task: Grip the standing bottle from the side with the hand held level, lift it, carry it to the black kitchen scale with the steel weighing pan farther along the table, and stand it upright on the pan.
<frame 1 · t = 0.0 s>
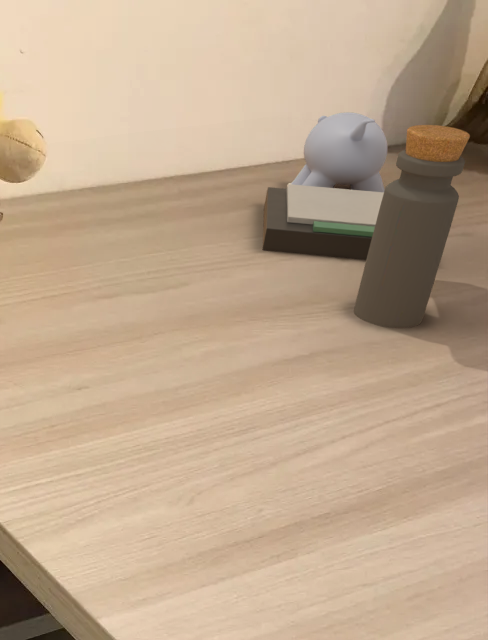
bottle: (386, 320, 91), on the table
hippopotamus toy: (333, 196, 120), on the table
scale: (340, 237, 108), on the table
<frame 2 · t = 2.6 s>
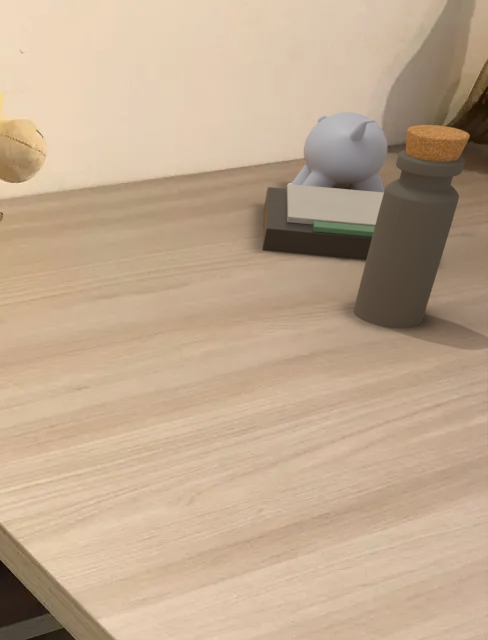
nothing on the table moved.
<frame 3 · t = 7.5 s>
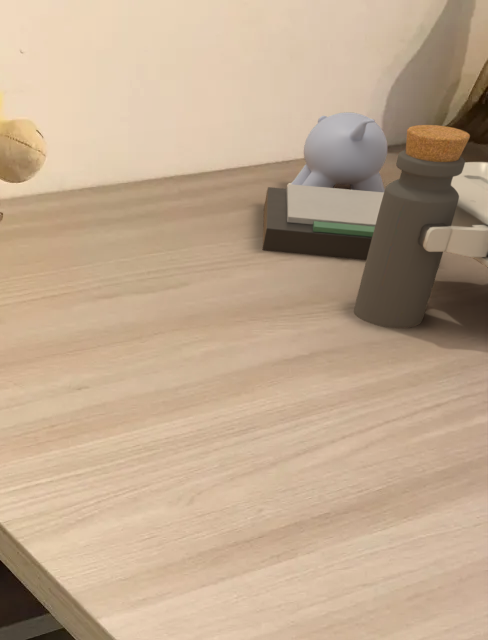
hand: (403, 223, 85), 8 cm above the table, tool horizontal, fingers closed on bottle, 6 cm apart
bottle: (386, 320, 91), on the table, touching gripper
everything else where it was.
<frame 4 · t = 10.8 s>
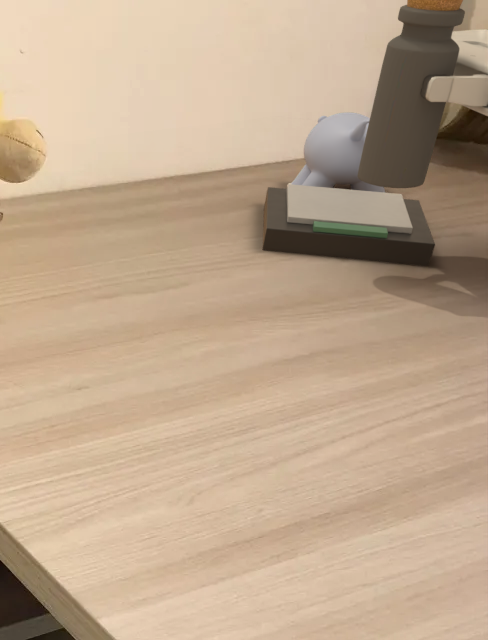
hand: (405, 79, 88), 17 cm above the table, tool horizontal, fingers closed on bottle, 6 cm apart
bottle: (389, 182, 93), point 9 cm above the table, touching gripper
everything else where it was.
when the fingers open (11 cm above the table, at t = 14.6 s): bottle stays where it is, resting on scale.
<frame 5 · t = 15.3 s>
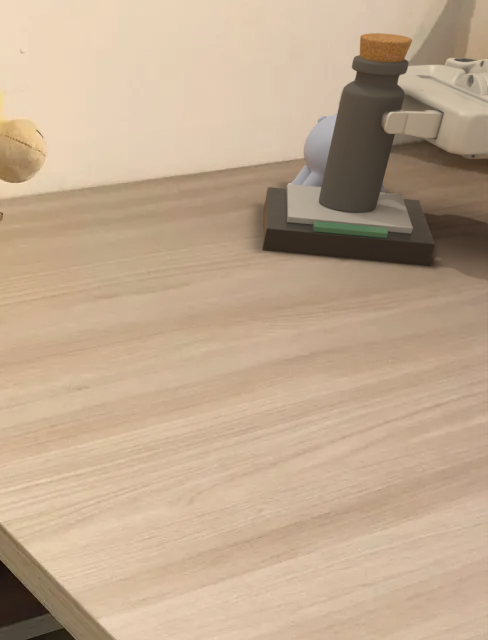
hand: (362, 110, 101), 12 cm above the table, tool horizontal, fingers open, 8 cm apart
bottle: (346, 206, 107), point 3 cm above the table, touching scale
everything else where it was.
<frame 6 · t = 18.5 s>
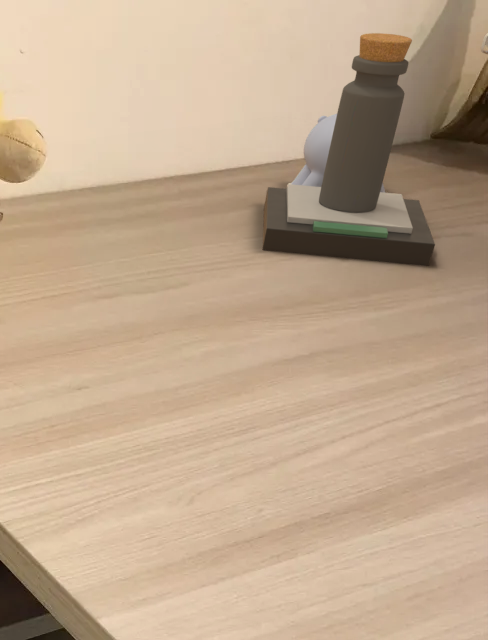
nothing on the table moved.
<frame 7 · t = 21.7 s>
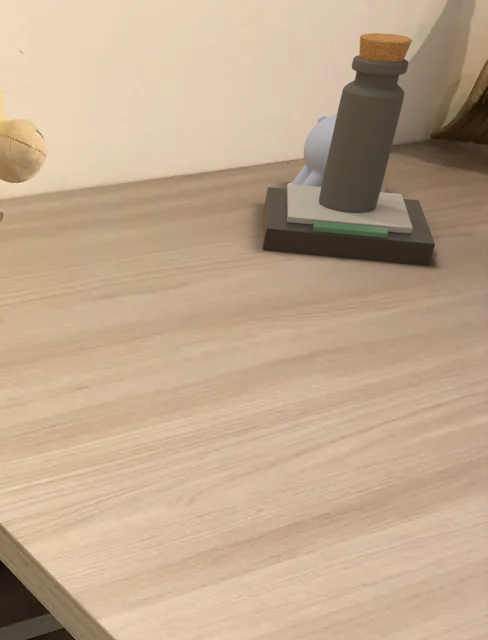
nothing on the table moved.
at the end: bottle inside the target area on the scale (0.1 cm from its centre), point 2.8 cm above the scale's base; bottle tilted 0°; the gripper is holding nothing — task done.
